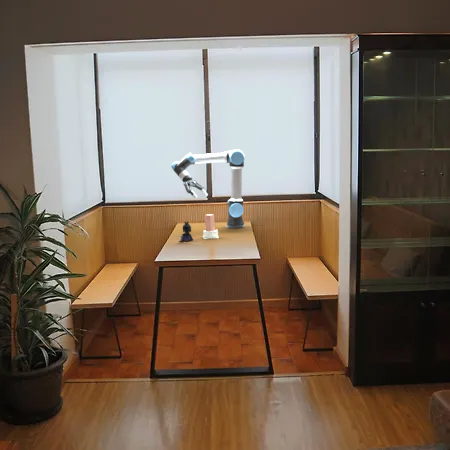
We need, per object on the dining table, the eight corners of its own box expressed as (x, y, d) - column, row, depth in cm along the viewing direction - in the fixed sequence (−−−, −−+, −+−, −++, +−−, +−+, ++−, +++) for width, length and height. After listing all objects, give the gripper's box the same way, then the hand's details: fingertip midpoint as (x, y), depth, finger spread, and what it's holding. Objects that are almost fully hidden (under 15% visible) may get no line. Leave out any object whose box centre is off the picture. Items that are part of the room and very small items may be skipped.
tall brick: (209, 229, 407) (208, 214, 405) (214, 230, 404) (214, 214, 402) (205, 230, 403) (204, 215, 401) (211, 231, 400) (210, 215, 398)
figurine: (194, 242, 392) (193, 222, 390) (177, 242, 395) (176, 222, 392) (197, 240, 400) (195, 220, 398) (181, 240, 403) (179, 220, 400)
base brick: (209, 235, 409) (209, 229, 409) (218, 236, 405) (217, 230, 404) (203, 237, 403) (202, 231, 402) (211, 238, 398) (211, 231, 398)
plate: (216, 236, 410) (216, 235, 410) (219, 239, 400) (219, 237, 400) (202, 238, 409) (202, 236, 408) (204, 240, 398) (204, 239, 398)
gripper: (192, 179, 439) (208, 198, 433) (173, 182, 419) (189, 201, 413) (197, 173, 435) (213, 191, 429) (177, 175, 415) (194, 195, 409)
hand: (201, 196), depth 421 cm, fingers open, 13 cm apart
